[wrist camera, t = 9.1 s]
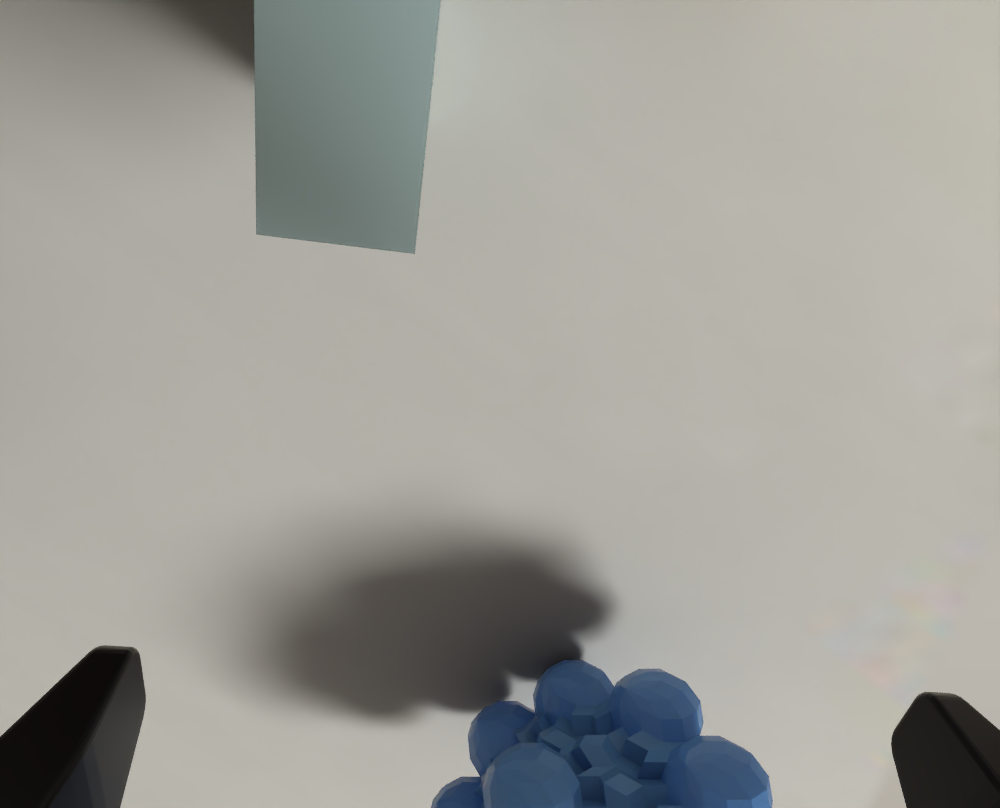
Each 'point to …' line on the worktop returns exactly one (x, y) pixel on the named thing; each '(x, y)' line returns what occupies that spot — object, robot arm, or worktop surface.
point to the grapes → (604, 749)
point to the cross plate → (342, 118)
